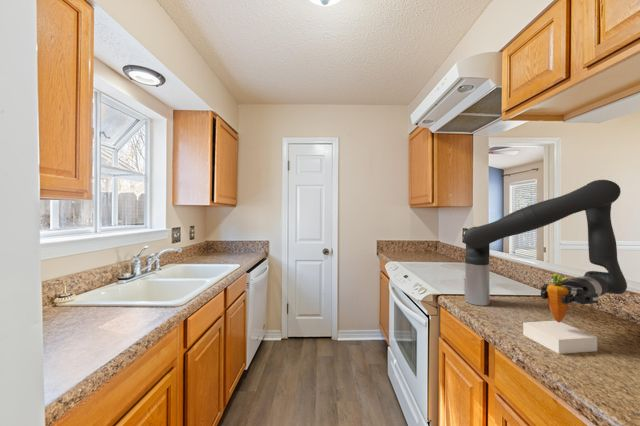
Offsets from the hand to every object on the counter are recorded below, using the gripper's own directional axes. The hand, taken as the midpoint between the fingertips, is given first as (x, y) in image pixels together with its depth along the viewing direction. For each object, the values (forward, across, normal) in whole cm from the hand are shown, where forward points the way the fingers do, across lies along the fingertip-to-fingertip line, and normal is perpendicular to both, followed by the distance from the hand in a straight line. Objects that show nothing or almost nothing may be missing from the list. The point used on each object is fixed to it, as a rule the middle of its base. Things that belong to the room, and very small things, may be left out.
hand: (553, 297), depth 82 cm
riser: (-2, 0, +14) cm, 14 cm away
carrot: (-3, 0, +8) cm, 9 cm away
